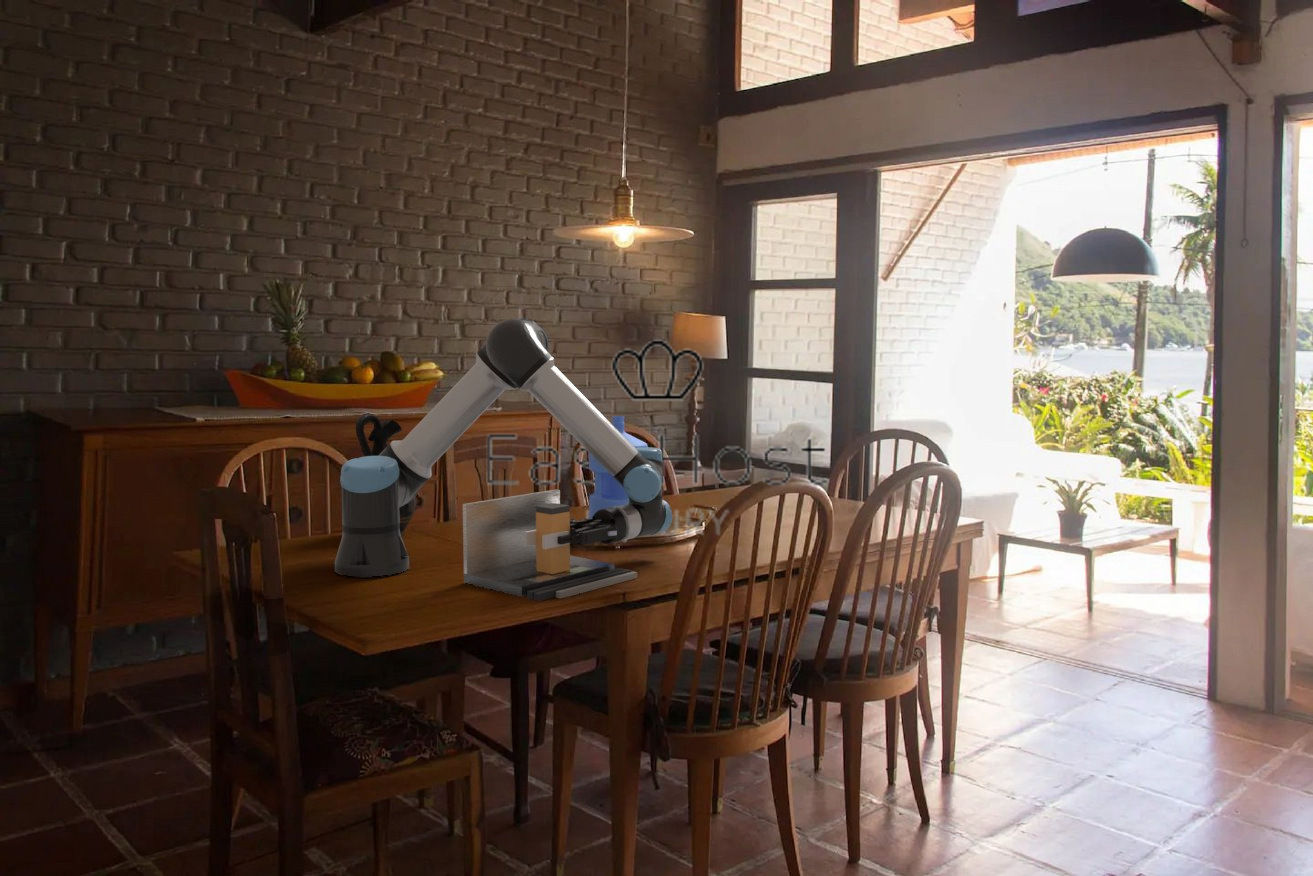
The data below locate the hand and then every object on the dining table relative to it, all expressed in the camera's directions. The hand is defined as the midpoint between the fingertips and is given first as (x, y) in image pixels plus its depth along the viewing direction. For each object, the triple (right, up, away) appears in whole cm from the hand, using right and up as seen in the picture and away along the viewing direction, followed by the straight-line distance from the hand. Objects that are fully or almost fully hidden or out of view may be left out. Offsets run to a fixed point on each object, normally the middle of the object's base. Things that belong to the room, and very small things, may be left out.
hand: (534, 540), depth 210 cm
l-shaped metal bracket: (0, -8, +7) cm, 11 cm away
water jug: (+14, -2, +69) cm, 71 cm away
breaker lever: (+3, -7, +4) cm, 9 cm away
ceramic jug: (-44, -4, +51) cm, 67 cm away
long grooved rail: (+10, -9, -1) cm, 14 cm away
